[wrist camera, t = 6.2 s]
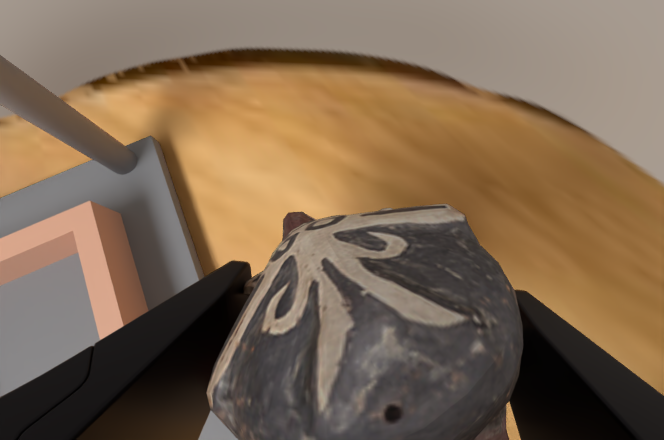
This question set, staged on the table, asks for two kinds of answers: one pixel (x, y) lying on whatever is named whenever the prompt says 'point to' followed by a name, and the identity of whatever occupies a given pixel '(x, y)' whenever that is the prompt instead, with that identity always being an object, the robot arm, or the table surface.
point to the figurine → (372, 334)
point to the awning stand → (85, 243)
